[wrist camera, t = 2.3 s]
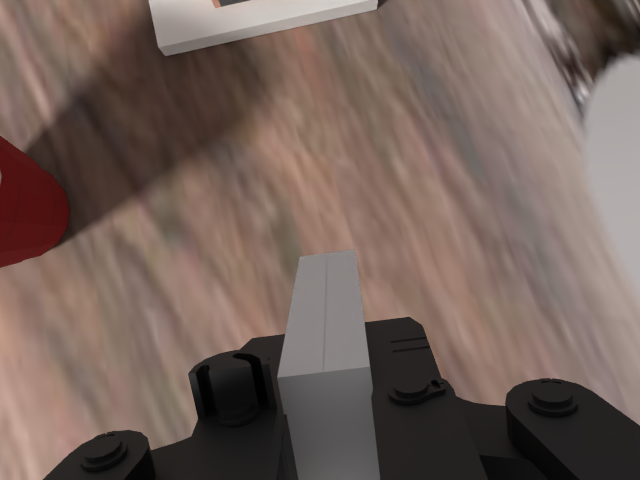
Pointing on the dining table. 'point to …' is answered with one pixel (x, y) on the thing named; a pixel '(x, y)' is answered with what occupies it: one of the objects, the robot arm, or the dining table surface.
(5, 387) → the dining table surface
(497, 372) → the dining table surface
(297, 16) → the stand
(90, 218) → the dining table surface
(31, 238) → the plastic cup
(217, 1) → the plug block
